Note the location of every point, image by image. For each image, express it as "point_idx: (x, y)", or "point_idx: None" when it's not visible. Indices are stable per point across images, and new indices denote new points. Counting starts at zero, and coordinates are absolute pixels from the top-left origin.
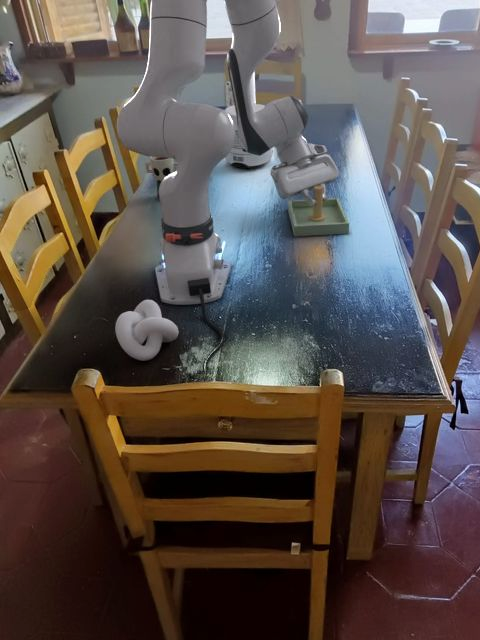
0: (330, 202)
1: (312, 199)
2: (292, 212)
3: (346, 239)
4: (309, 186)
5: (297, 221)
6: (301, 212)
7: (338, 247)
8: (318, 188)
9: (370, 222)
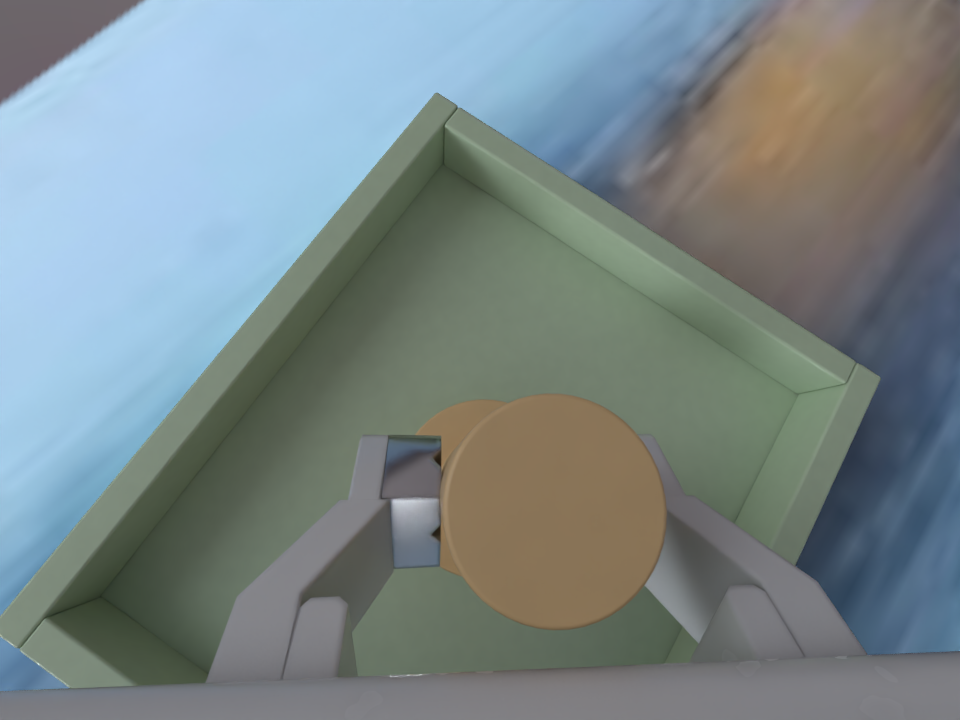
0: (129, 646)
1: None
2: None
3: (513, 108)
4: (747, 666)
5: None
6: None
7: (635, 73)
8: (595, 458)
9: (144, 165)
